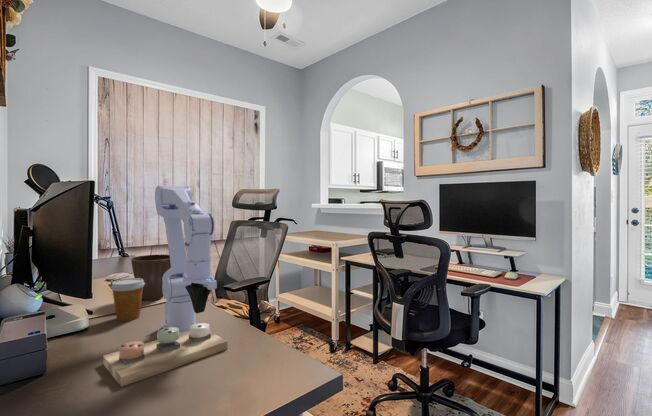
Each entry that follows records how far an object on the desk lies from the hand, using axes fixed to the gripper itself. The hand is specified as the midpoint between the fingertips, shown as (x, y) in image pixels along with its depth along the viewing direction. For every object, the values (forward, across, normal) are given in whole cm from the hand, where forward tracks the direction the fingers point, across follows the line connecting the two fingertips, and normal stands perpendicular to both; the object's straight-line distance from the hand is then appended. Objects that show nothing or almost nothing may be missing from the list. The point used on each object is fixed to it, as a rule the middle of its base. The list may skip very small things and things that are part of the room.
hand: (199, 312), depth 86 cm
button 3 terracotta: (+6, 0, -16) cm, 17 cm away
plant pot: (+9, -55, +8) cm, 56 cm away
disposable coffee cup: (+9, -37, -6) cm, 39 cm away
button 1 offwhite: (+6, 0, 0) cm, 6 cm away
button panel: (+9, 0, -8) cm, 12 cm away
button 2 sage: (+5, 0, -8) cm, 9 cm away
